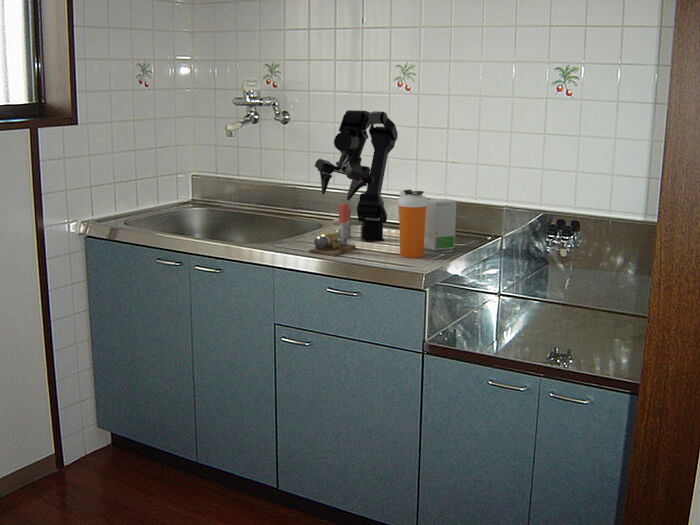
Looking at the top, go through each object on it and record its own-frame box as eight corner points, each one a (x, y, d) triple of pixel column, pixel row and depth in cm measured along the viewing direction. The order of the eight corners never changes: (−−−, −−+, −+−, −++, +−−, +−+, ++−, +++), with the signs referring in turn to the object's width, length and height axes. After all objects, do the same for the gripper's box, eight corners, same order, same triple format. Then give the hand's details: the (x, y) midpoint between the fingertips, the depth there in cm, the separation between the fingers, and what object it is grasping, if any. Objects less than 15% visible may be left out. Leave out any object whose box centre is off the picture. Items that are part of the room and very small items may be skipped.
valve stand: (331, 245, 272) (331, 227, 271) (355, 248, 268) (355, 230, 267) (309, 253, 261) (309, 234, 260) (334, 256, 257) (334, 237, 256)
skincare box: (433, 251, 264) (435, 202, 261) (422, 247, 270) (423, 199, 266) (456, 248, 268) (457, 200, 264) (444, 245, 274) (445, 197, 270)
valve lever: (343, 244, 264) (343, 203, 261) (348, 244, 263) (348, 203, 260) (338, 245, 261) (338, 204, 258) (343, 246, 260) (343, 205, 258)
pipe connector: (362, 240, 281) (362, 210, 278) (332, 240, 281) (332, 210, 278) (362, 234, 290) (362, 205, 288) (333, 234, 290) (333, 205, 288)
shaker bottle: (417, 259, 252) (419, 193, 248) (391, 256, 257) (392, 191, 252) (431, 254, 260) (432, 190, 255) (405, 251, 264) (406, 187, 260)
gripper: (337, 151, 250) (319, 199, 254) (388, 165, 260) (371, 211, 264) (322, 140, 259) (306, 187, 263) (373, 154, 269) (356, 199, 273)
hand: (335, 196), depth 266 cm, fingers open, 9 cm apart
